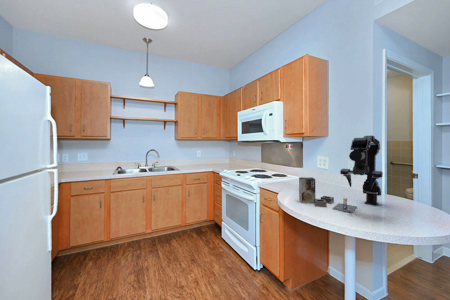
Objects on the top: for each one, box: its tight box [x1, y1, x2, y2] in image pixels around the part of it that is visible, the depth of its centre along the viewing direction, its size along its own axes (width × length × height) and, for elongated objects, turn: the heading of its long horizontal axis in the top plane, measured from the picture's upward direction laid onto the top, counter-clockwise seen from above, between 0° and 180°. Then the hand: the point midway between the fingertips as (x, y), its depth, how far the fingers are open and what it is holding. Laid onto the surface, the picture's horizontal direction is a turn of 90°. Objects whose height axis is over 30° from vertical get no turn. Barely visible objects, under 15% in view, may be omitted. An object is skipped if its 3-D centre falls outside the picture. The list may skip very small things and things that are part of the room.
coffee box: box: [298, 176, 316, 204], centre depth 130 cm, size 9×6×16 cm
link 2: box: [320, 195, 335, 205], centre depth 129 cm, size 6×6×3 cm
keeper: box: [332, 197, 358, 214], centre depth 116 cm, size 14×10×6 cm
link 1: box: [313, 198, 328, 208], centre depth 122 cm, size 6×6×3 cm
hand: (360, 188), depth 107 cm, fingers open, 9 cm apart
